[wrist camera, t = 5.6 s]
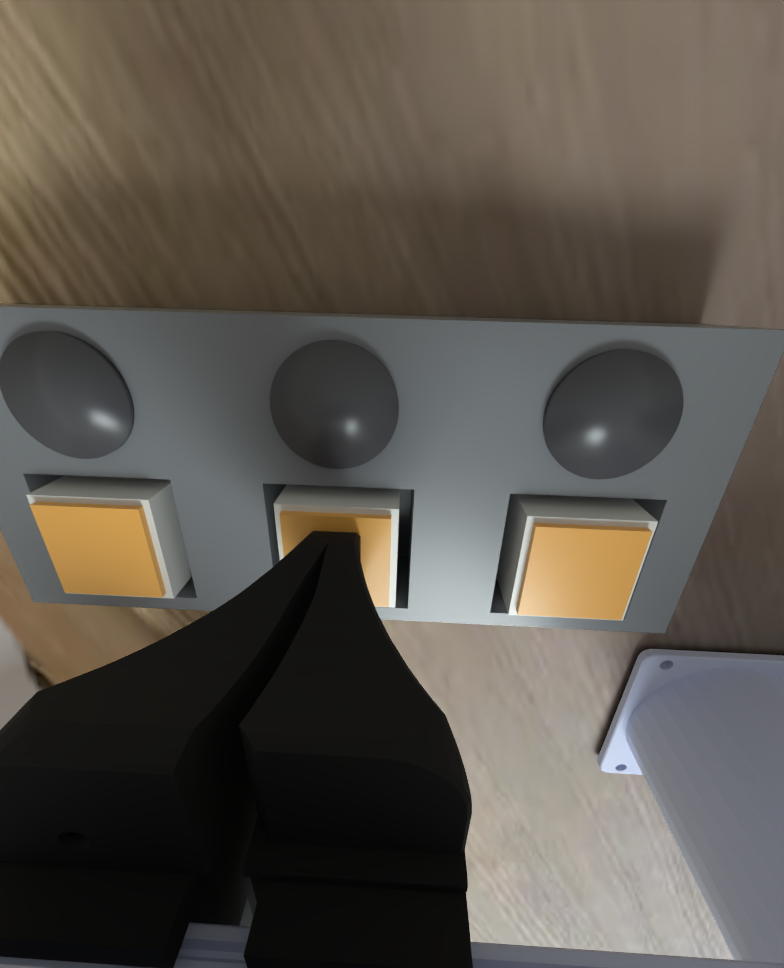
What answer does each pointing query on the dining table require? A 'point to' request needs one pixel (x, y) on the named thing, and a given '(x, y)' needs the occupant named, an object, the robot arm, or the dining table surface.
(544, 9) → the dining table surface
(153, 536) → the button
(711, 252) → the dining table surface
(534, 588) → the button
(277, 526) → the button middle
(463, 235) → the dining table surface
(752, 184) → the dining table surface
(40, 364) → the button panel
